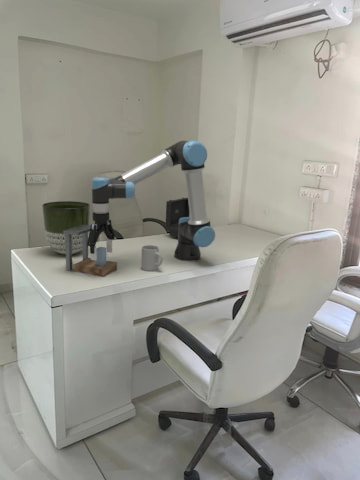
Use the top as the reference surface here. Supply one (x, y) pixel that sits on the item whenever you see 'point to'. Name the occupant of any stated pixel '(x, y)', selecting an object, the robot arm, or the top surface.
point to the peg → (101, 256)
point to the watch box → (176, 214)
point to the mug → (150, 258)
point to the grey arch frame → (68, 243)
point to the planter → (64, 223)
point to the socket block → (95, 267)
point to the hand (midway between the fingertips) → (101, 256)
